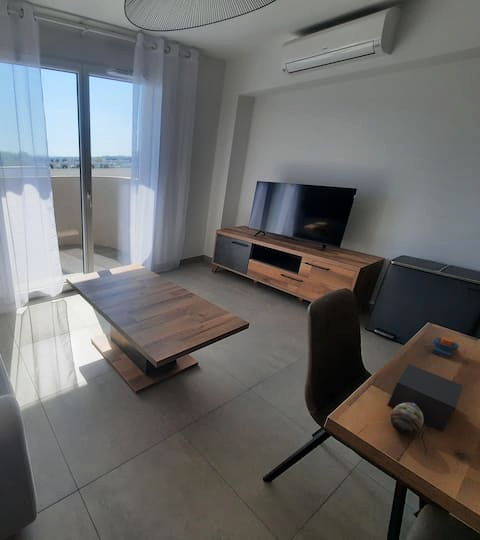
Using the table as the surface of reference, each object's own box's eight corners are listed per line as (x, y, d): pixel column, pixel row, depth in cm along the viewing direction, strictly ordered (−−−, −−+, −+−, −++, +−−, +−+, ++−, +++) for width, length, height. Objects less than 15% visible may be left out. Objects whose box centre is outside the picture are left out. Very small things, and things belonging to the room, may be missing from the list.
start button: (451, 346, 102) (453, 342, 101) (439, 342, 104) (441, 338, 103) (452, 343, 103) (454, 339, 103) (440, 339, 106) (442, 335, 105)
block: (452, 360, 100) (456, 351, 99) (428, 351, 104) (432, 343, 103) (456, 349, 105) (460, 341, 104) (433, 341, 110) (437, 333, 109)
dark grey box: (398, 385, 89) (408, 363, 86) (450, 408, 81) (462, 385, 78) (387, 405, 82) (397, 382, 79) (442, 432, 74) (455, 407, 71)
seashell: (392, 413, 80) (403, 390, 77) (421, 427, 76) (433, 404, 73) (381, 430, 75) (392, 407, 72) (411, 447, 71) (423, 423, 68)
